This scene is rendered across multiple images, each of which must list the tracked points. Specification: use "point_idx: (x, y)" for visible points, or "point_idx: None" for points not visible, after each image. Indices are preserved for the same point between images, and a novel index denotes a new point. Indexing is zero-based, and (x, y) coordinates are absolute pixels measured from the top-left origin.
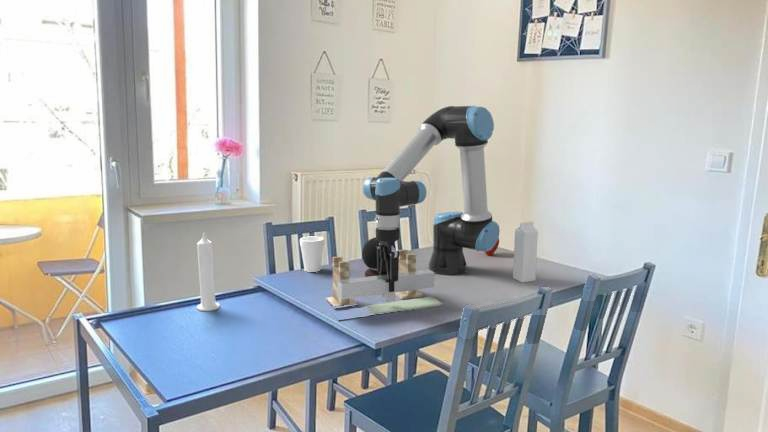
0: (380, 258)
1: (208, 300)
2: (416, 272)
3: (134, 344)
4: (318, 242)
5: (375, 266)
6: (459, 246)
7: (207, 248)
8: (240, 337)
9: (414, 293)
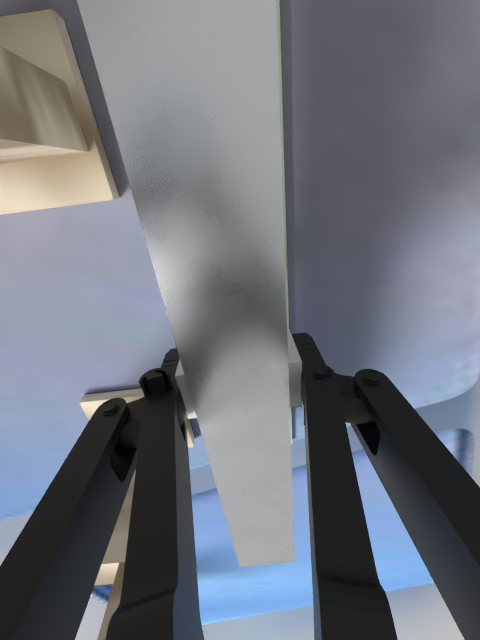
0: (82, 573)
1: None
2: (170, 83)
3: (271, 608)
4: None
5: None
6: None
7: None
8: (300, 551)
9: (66, 91)
